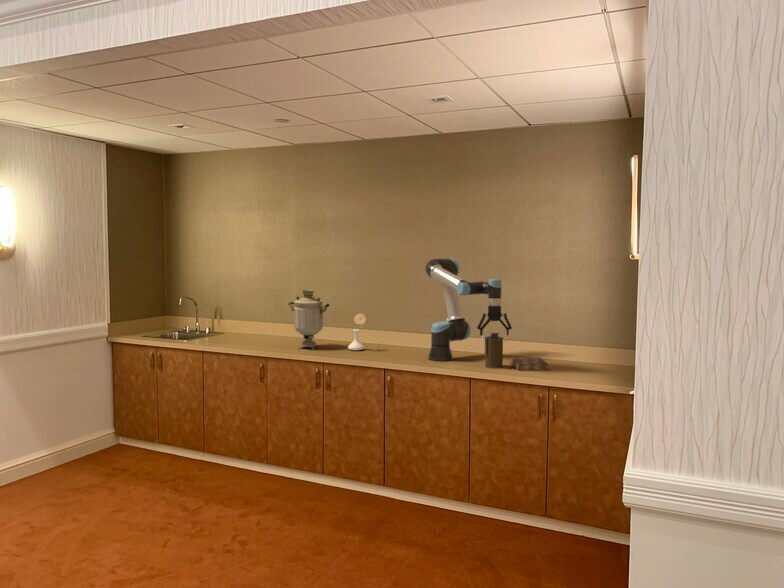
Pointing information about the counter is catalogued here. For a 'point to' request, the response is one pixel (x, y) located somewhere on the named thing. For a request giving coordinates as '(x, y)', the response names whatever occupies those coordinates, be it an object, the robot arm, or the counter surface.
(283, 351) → the counter surface
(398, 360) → the counter surface
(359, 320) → the flower in vase
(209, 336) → the counter surface
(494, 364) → the canister
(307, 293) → the samovar
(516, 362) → the walnut base
